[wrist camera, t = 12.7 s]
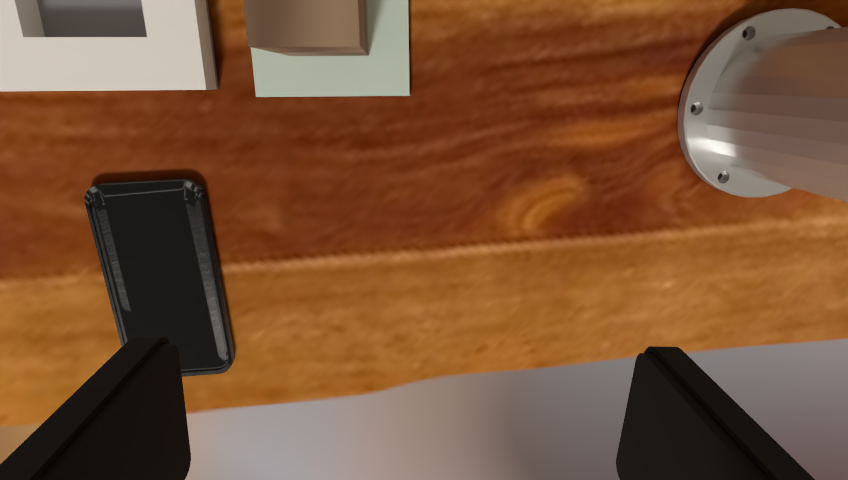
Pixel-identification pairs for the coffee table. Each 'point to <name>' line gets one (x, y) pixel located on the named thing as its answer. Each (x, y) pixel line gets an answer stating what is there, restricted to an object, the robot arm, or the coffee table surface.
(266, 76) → the green mat
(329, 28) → the walnut block
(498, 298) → the coffee table surface
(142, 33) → the pocket plate
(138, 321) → the phone
